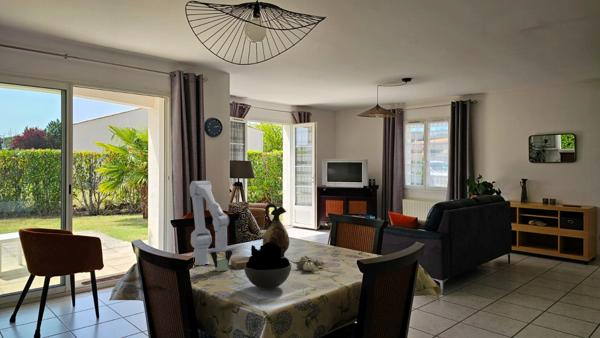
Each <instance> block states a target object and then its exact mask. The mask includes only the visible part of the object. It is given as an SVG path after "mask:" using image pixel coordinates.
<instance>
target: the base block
mask: <svg viewBox="0 0 600 338" xmlns="http://www.w3.org/2000/svg"><path fill="white" fill-rule="evenodd" d="M249 258H250V256H244V257H235V258H233V257H232V258H230V265H231V266H232V268H235V269H236V270H239V269H244V265H245V264H246V263H247V262H248V261H249Z"/></svg>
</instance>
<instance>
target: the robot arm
mask: <svg viewBox="0 0 600 338" xmlns="http://www.w3.org/2000/svg"><path fill="white" fill-rule="evenodd" d="M212 187H213V186H212V184H211V181H210V180H192V181H191V182H190V184H189V195H190V197H191V200H192V210H193V217H194V219H193V220H194V227H195V229H193V231H192V232H191V233H190V245H191V247H192V248H194V249H193V258H194V257H195V259H196V262H195V264H196V265H197V264H198V265H199V266H206V265H205V264H208V265H211V264H212V263H211V262H210V261H209V255H210V257H211V259H212V261H213V265H214V268H217V259H218V254H217V253H224V254H225V258H226V259H227V260H228V265H229V263H230V261H231V259H232V258H231V257H232V255H233V252H236V251H237V248H236V247H237V246H228V226H229V224H230V217H229V216H228V214H226V213H224V211H223V210H222V207H221V206H220V204H219V203H218V202H216V200H215V197H214V194H213V193H212V190H213V189H212ZM203 198H204V199H205V201H206V203H207V205H208V211H209V213H210V215H211V217H212V225H213V229H214V232H215V233H214V234H215V236H214V237H215V238H214V239H215V240H214V245H215V247H212V248H209V247H210V245H211V244H212V241H213V239H212V238H213V237H212V235H211V232H210V230H209V229H207V228H206V221H205V213H204V212H205V211H204V204H203V203H204V202H203Z"/></svg>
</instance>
